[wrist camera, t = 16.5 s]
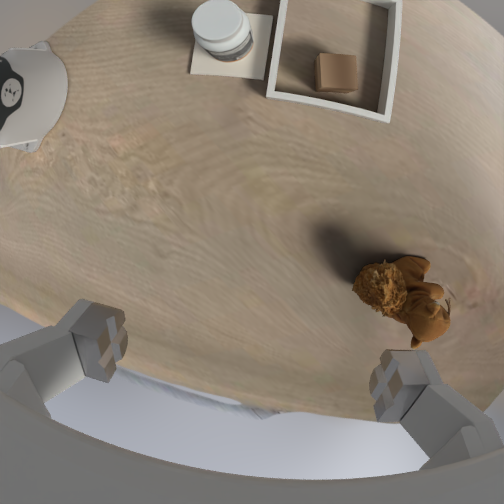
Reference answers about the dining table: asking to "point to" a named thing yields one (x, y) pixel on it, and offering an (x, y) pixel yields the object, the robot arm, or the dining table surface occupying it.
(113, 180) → the dining table surface
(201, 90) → the dining table surface
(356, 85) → the walnut block
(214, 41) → the pill bottle
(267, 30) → the coaster
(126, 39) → the dining table surface
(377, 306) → the stuffed squirrel
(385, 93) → the tray frame
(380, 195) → the dining table surface
